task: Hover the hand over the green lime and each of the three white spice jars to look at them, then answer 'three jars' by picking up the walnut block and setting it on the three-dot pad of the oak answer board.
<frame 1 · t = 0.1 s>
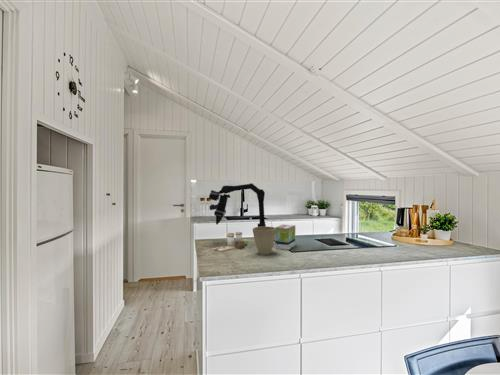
hand: (217, 223, 206), 15 cm above the table, tool pointing down, fingers open, 9 cm apart
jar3: (230, 246, 201), on the table
lime: (245, 245, 204), on the table
board: (223, 249, 193), on the table
tea box: (285, 247, 197), on the table
token: (239, 248, 195), on the table
jar2: (231, 244, 206), on the table
plant pot: (264, 253, 181), on the table
jar1: (238, 243, 210), on the table
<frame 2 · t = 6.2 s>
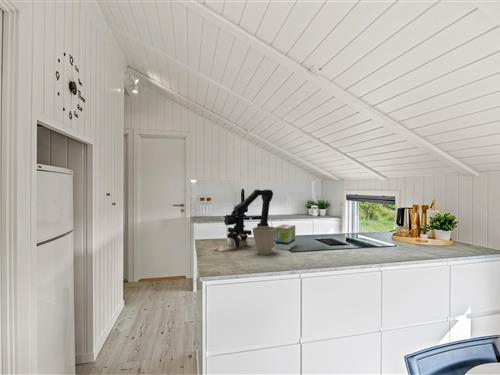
hand: (239, 246, 195), 1 cm above the table, tool pointing down, fingers closed on token, 4 cm apart
token: (239, 248, 195), on the table, touching gripper
everything else where it was.
when the fingers open (3 cm above the table, at t = 9.7 s): token drops 1 cm, resting on board.
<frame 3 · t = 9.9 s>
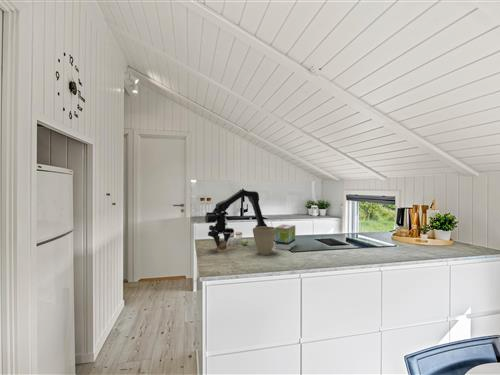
hand: (221, 245, 190), 3 cm above the table, tool pointing down, fingers open, 7 cm apart
token: (221, 248, 190), point 1 cm above the table, touching board
everything else where it was.
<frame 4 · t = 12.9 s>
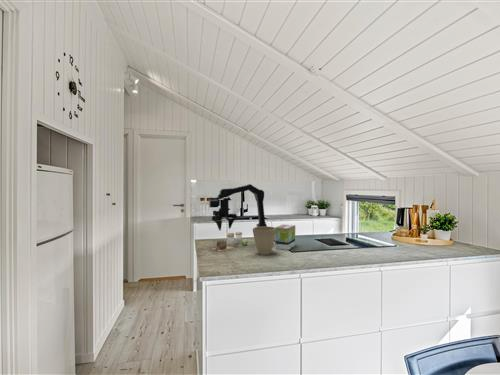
hand: (224, 229, 197), 13 cm above the table, tool pointing down, fingers open, 9 cm apart
nothing on the table moved.
at the end: token inside the target area on the board (1.0 cm from its centre), point 1.0 cm above the board's base; token tilted 0°; the gripper is holding nothing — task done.
